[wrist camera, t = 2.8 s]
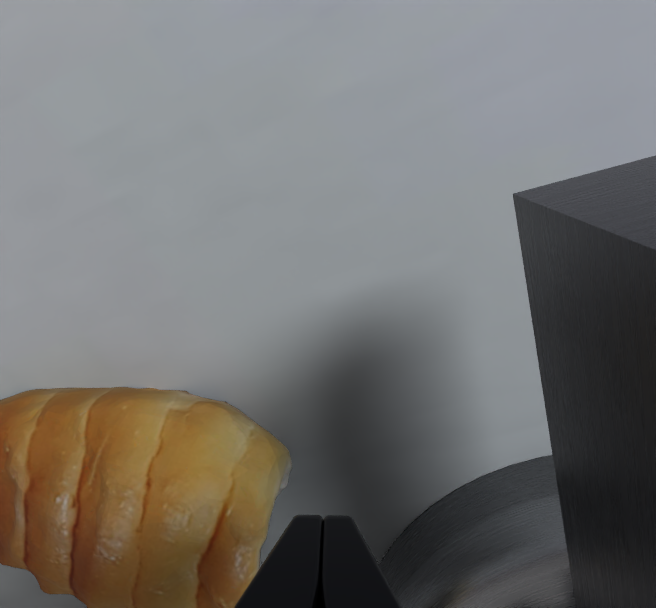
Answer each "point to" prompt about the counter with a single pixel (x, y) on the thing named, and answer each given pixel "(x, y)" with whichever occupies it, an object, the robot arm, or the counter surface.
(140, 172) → the counter surface
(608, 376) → the lid
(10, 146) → the counter surface
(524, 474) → the pot
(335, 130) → the counter surface
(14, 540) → the pastry
